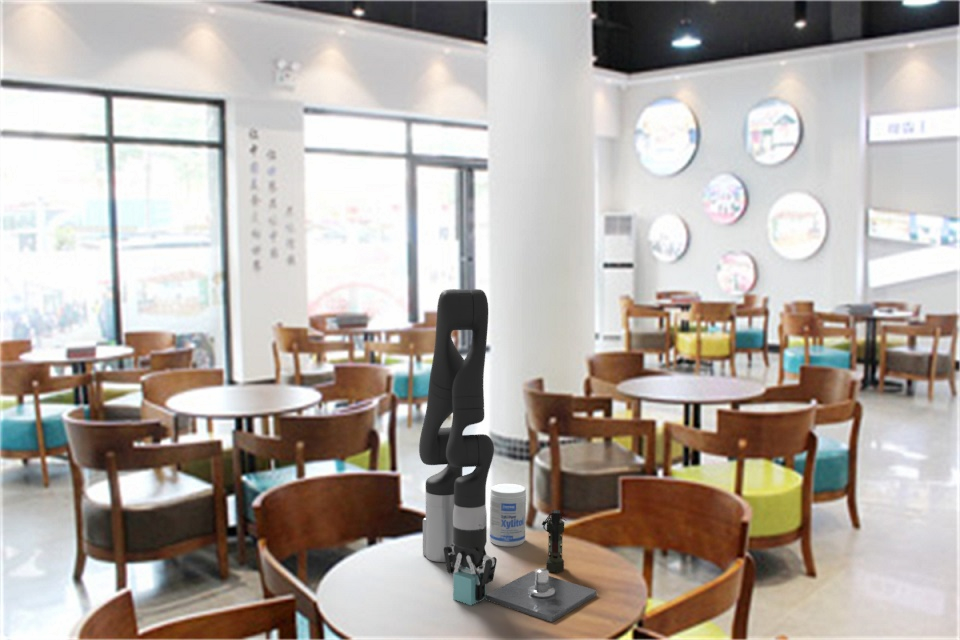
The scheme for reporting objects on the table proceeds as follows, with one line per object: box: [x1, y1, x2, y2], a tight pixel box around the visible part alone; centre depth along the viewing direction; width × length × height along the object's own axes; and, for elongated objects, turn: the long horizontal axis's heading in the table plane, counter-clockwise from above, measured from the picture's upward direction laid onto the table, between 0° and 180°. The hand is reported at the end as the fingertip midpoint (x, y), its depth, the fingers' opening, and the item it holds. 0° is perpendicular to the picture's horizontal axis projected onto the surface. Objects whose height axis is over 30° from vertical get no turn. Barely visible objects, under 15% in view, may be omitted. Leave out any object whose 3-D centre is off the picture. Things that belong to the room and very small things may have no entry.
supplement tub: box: [489, 483, 527, 548], centre depth 232 cm, size 10×10×15 cm
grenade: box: [541, 509, 567, 573], centre depth 212 cm, size 6×6×15 cm
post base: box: [485, 567, 598, 623], centre depth 196 cm, size 18×18×6 cm
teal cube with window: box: [452, 567, 487, 606], centre depth 195 cm, size 5×5×6 cm
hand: (469, 595), depth 195 cm, fingers closed on teal cube with window, 5 cm apart
